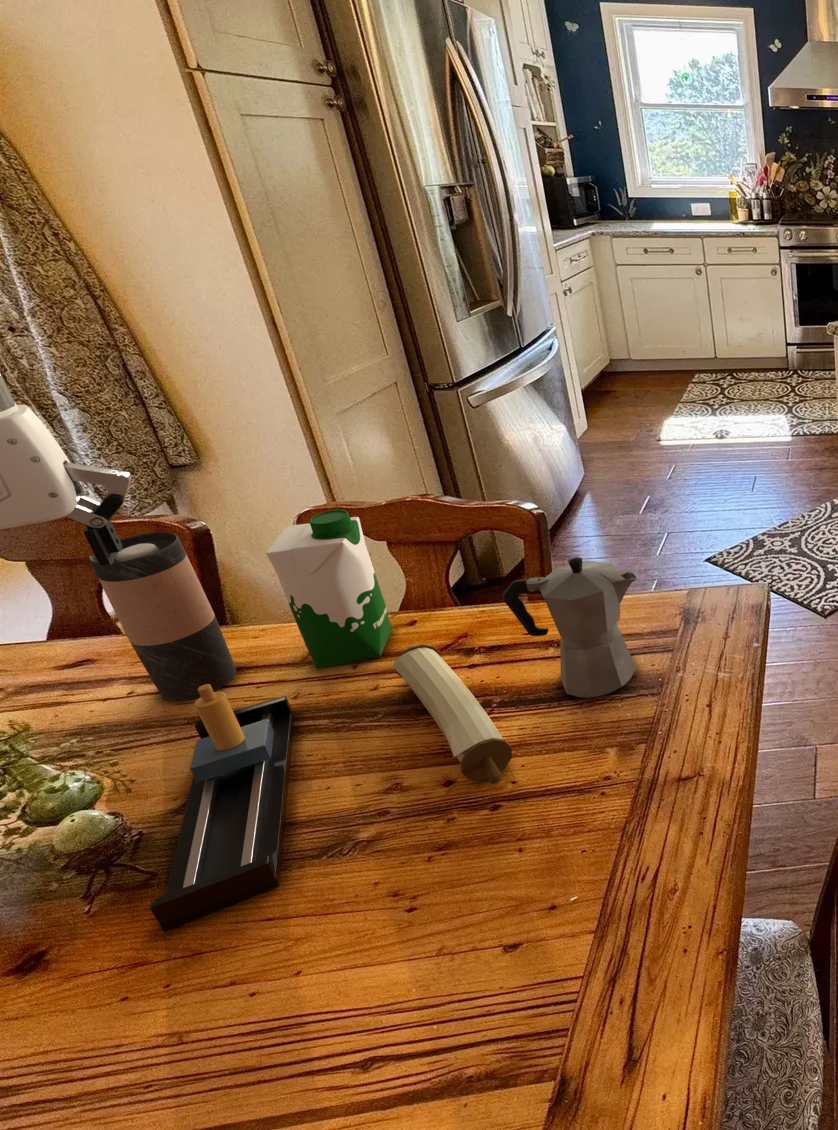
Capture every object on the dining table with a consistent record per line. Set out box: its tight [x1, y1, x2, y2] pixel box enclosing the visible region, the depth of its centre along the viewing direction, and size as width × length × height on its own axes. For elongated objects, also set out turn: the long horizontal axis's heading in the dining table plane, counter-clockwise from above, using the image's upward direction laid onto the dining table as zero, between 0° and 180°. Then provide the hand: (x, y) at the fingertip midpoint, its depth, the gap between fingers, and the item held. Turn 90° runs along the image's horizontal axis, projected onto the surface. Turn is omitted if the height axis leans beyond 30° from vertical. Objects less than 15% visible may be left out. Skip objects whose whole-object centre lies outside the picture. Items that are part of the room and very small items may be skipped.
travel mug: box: [88, 531, 237, 702], centre depth 93 cm, size 8×8×20 cm
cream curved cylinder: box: [391, 643, 513, 785], centre depth 91 cm, size 32×6×5 cm, turn 47°
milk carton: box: [265, 509, 393, 670], centre depth 101 cm, size 9×9×20 cm
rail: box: [149, 695, 295, 932], centre depth 80 cm, size 8×28×3 cm, turn 36°
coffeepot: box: [502, 556, 638, 699], centre depth 97 cm, size 15×9×18 cm, turn 104°
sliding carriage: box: [190, 684, 274, 782], centre depth 82 cm, size 6×5×10 cm
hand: (38, 573), depth 72 cm, fingers open, 9 cm apart
